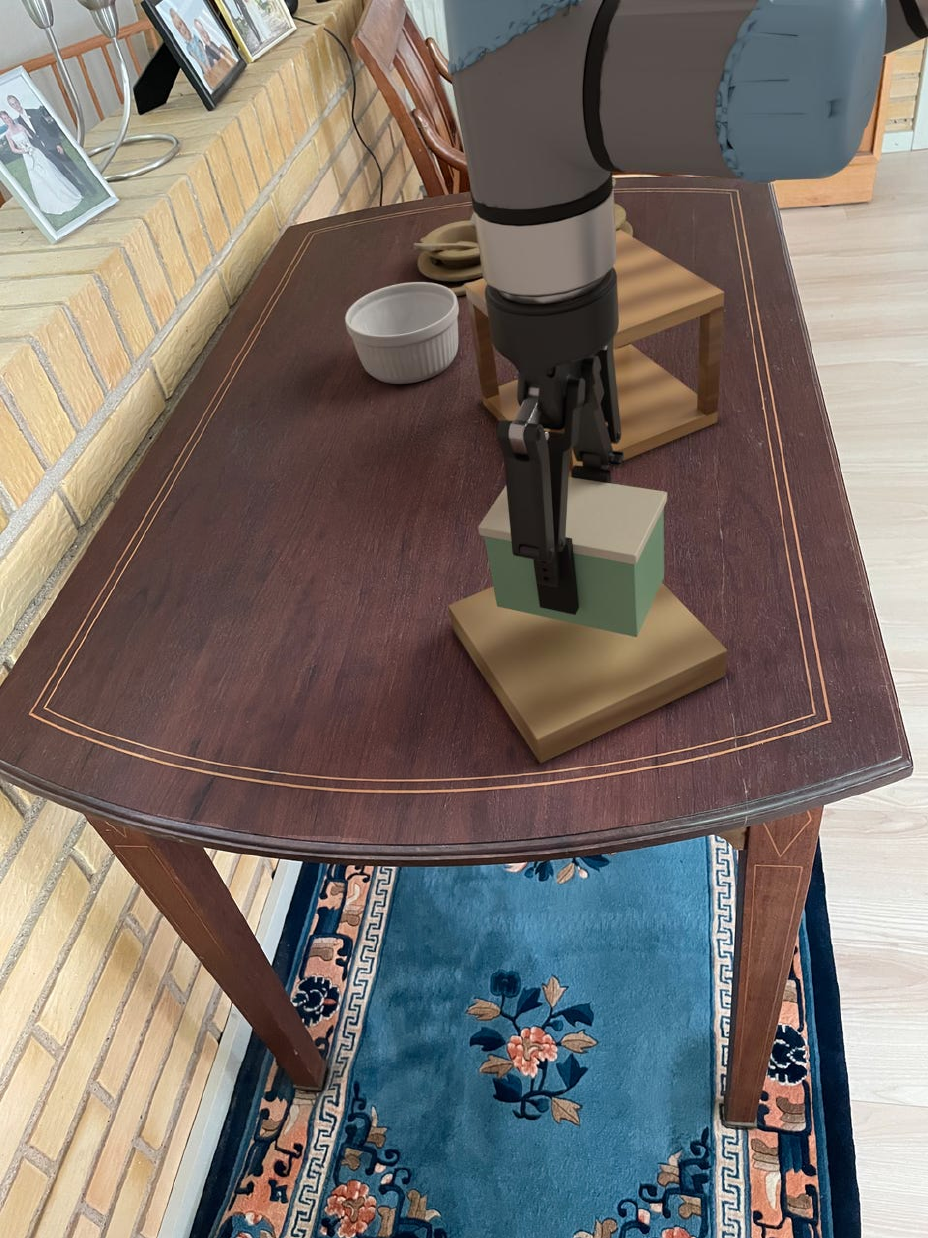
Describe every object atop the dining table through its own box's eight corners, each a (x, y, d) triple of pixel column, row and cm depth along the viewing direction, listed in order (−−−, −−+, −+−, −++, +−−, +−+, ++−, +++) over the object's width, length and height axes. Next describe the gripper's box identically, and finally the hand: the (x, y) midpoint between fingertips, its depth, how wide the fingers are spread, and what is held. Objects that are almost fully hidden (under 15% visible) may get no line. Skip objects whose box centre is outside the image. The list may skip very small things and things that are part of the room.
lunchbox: (667, 576, 69) (667, 491, 63) (638, 640, 65) (635, 556, 59) (528, 549, 73) (516, 468, 68) (493, 608, 69) (477, 527, 64)
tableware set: (421, 303, 121) (412, 259, 117) (417, 241, 135) (409, 200, 131) (646, 264, 119) (645, 218, 115) (618, 206, 133) (617, 163, 129)
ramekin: (440, 322, 117) (431, 269, 112) (484, 365, 107) (475, 310, 103) (344, 357, 114) (330, 304, 109) (380, 404, 105) (366, 349, 100)
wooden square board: (725, 676, 70) (727, 650, 68) (540, 764, 67) (536, 739, 65) (616, 559, 81) (615, 533, 79) (453, 630, 78) (447, 605, 76)
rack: (717, 422, 93) (724, 291, 83) (561, 486, 89) (549, 358, 80) (623, 350, 105) (620, 229, 95) (483, 404, 102) (464, 284, 92)
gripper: (552, 198, 59) (578, 484, 75) (409, 359, 47) (476, 656, 63) (666, 201, 56) (668, 498, 72) (544, 373, 44) (578, 682, 60)
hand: (578, 572), depth 68 cm, fingers closed on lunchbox, 7 cm apart
